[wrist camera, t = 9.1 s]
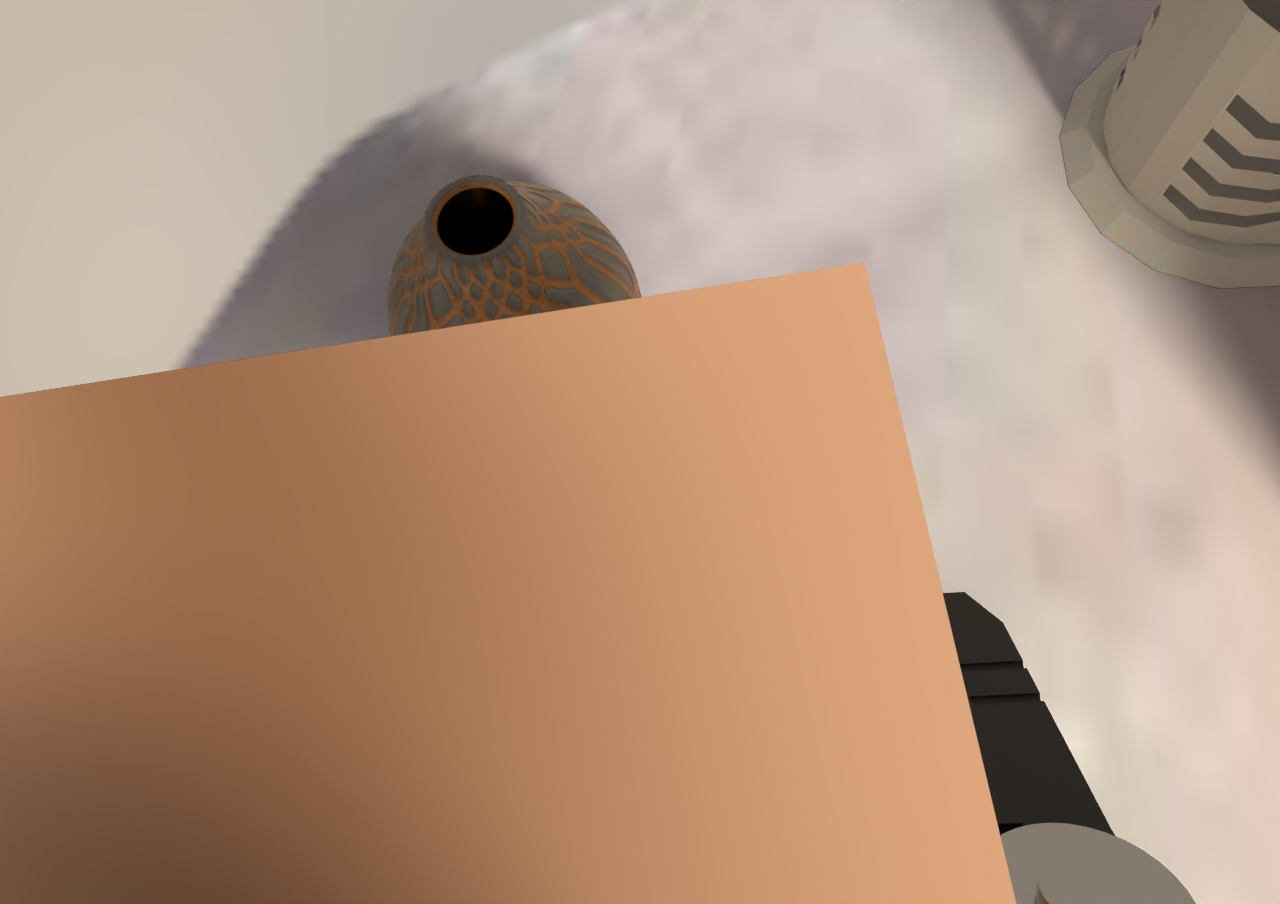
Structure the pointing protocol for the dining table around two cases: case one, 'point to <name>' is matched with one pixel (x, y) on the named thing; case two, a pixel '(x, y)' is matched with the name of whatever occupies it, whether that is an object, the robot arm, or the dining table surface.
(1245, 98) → the french press
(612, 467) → the copper rectangular block
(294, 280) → the dining table surface
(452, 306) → the vase
